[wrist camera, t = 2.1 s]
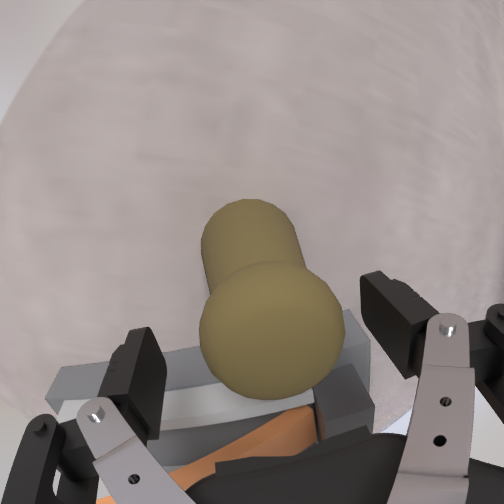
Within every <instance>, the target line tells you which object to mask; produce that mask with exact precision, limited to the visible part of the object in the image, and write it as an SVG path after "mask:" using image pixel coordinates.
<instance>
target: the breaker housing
mask: <svg viewBox="0 0 504 504" xmlns="http://www.w3.org/2000/svg"><path fill="white" fill-rule="evenodd" d="M342 313H343V319H344V325H345V332H346V334H345V339H344V343H343V348H342V351H341V354H340V357H339V359H338V361H337V363H336V364H335V366H334V367H333V369H332V371H331V372H330V373H329V374H328V375H327V376H326V377H325V378H324V379H323V380H322V381H321V382H320V383H319V384H317V385H316V386H314V387H312V388H311V389H309V390H307V391H305V392H303V393H302V394H299V395H296V396H292V397H289V398H285V399H279V400H265V401H264V400H258V399H251V398H246V397H244V396H242V395H239V394H237V393H235V392H233V391H231V390H230V389H228V388H227V387H226V386H225V385H224V384H223V383H222V382H220V381H219V380H218V379H217V378H216V377H215V376H214V375H213V374H212V373H211V371H210V369H209V367H208V366H207V364H206V362H205V360H204V358H203V355H202V352H201V349H200V346H198V347H193V348H188V349H183V350H177V351H172V352H166V353H162V354H163V356H164V358H165V361H166V365H167V379H166V386H165V394H164V401H163V409H162V417H161V426H160V434H159V440H147V447H146V448H147V449H148V450H149V451H150V453H151V454H152V455H153V456H154V457H155V459H156V460H157V461H158V462H159V463H160V465H161V466H162V467H163V468H164V469H165V470H166V471H167V473H171V472H173V471H175V470H177V469H180V468H182V467H184V466H186V465H188V464H190V463H193V462H195V461H197V460H199V459H201V458H203V457H205V456H207V455H209V454H211V453H213V452H215V451H217V450H219V449H221V448H223V447H225V446H227V445H228V444H230V443H232V442H234V441H236V440H238V439H240V438H241V437H243V436H245V435H247V434H249V433H250V432H252V431H254V430H256V429H257V428H259V427H261V426H262V425H264V424H266V423H267V422H269V421H271V420H272V419H274V418H276V417H277V416H279V415H280V414H282V413H284V412H285V411H287V410H288V409H291V408H295V407H299V406H303V405H308V406H309V407H310V408H311V409H313V413H314V420H315V426H316V434H317V441H316V442H314V443H313V444H311V445H310V446H309V447H307V448H306V449H304V450H303V451H305V450H307V449H309V448H311V447H313V446H314V445H316V444H318V443H320V442H322V441H324V440H326V439H328V438H329V437H332V436H335V435H338V434H341V433H344V432H347V431H350V430H353V429H356V428H359V427H362V426H364V425H367V427H368V429H369V431H370V433H371V434H372V432H373V423H374V412H375V405H374V403H373V401H372V399H371V397H370V395H369V386H370V339H369V338H368V336H367V335H366V333H365V332H364V330H363V329H362V327H361V326H360V325H359V323H358V322H357V320H356V319H355V317H354V316H353V314H352V313H351V312H350V310H349V309H348V310H345V311H342ZM109 362H110V361H109ZM109 362H102V363H94V364H86V365H77V366H68V367H61V369H60V370H59V372H58V374H57V376H56V378H55V380H54V382H53V383H52V385H51V387H50V389H49V391H48V393H47V395H46V397H45V400H46V401H47V402H48V404H49V405H50V406H51V407H52V409H53V410H54V411H55V412H56V414H57V415H58V416H57V418H56V420H57V421H58V423H62V422H66V421H69V420H72V419H75V418H76V416H77V412H78V410H79V409H80V407H81V406H82V405H83V404H84V403H86V402H87V401H89V400H91V399H93V398H97V395H98V392H99V389H100V387H101V384H102V381H103V378H104V375H105V373H107V372H106V370H107V367H108V365H109ZM303 451H301V452H303ZM301 452H300V453H301ZM298 454H299V453H298Z"/></svg>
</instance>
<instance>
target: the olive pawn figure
mask: <svg viewBox="0 0 504 504" xmlns="http://www.w3.org/2000/svg"><path fill="white" fill-rule="evenodd" d="M201 255H202V260H203V264H204V269H205V273H206V278H207V282H208V286H209V291H210V297H209V298H208V300H207V302H206V304H205V307H204V310H203V313H202V316H201V319H200V326H199V336H200V349H201V352H202V355H203V358H204V360H205V362H206V364H207V366H208V367H209V369H210V371H211V373H212V374H213V375H214V376H215V377H216V378H217V379H218V380H219V381H220V382H222V383H223V384H224V385H225V386H226V387H227V388H228V389H230V390H231V391H233V392H235V393H237V394H239V395H242V396H244V397H246V398H251V399H258V400H264V401H265V400H279V399H285V398H289V397H292V396H296V395H299V394H302V393H303V392H305V391H307V390H309V389H311V388H312V387H314V386H316V385H317V384H319V383H320V382H321V381H322V380H323V379H324V378H325V377H326V376H327V375H328V374H329V373H330V372H331V371H332V369H333V367H334V366H335V364H336V363H337V361H338V359H339V357H340V354H341V351H342V348H343V343H344V339H345V334H346V332H345V325H344V319H343V313H342V308H341V305H340V303H339V302H338V300H337V299H336V297H335V295H334V294H333V292H332V291H331V289H330V288H329V286H328V285H327V284H326V282H324V281H323V280H322V279H320V278H319V277H318V276H316V275H315V274H314V273H312V272H311V271H309V270H308V269H307V268H306V265H305V261H304V258H303V255H302V252H301V248H300V245H299V242H298V239H297V236H296V232H295V229H294V226H293V224H292V223H291V221H290V220H289V218H288V217H287V215H286V214H285V213H284V212H283V211H281V210H280V209H279V208H277V207H276V206H275V205H273V204H271V203H268V202H265V201H262V200H259V199H242V200H239V201H236V202H233V203H229V204H227V205H226V206H224V207H223V208H221V209H220V210H218V211H217V212H216V213H214V215H213V216H212V217H211V219H210V220H209V222H208V223H207V224H206V226H205V229H204V232H203V235H202V238H201Z"/></svg>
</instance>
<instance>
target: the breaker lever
mask: <svg viewBox="0 0 504 504" xmlns="http://www.w3.org/2000/svg"><path fill="white" fill-rule="evenodd" d="M316 441H317V434H316V426H315V420H314V413H313V409H311V408H310V407H309V406H308V405H303V406H299V407H295V408H291V409H288V410H287V411H285V412H284V413H282V414H280V415H279V416H277V417H276V418H274V419H272V420H271V421H269V422H267V423H266V424H264V425H262V426H261V427H259V428H257V429H256V430H254V431H252V432H250V433H249V434H247V435H245V436H243V437H241V438H240V439H238V440H236V441H234V442H232V443H230V444H228V445H227V446H225V447H223V448H221V449H219V450H217V451H215V452H213V453H211V454H209V455H207V456H205V457H203V458H201V459H199V460H197V461H195V462H193V463H190V464H188V465H186V466H184V467H182V468H180V469H177V470H175V471H173V472H171V473H168V474H169V475H170V476H171V477H172V478H173V479H174V480H175V482H176V483H177V484H178V485H179V486H180V487H181V488H182V489H183V490H184V491H186V490H187V489H188V488H189V487H190V486H192V485H193V484H194V483H196V482H197V481H199V480H201V479H202V478H204V477H206V476H209V475H211V474H213V473H215V462H221V461H228V460H234V459H240V458H246V457H251V456H293V455H296V454H298V453H300V452H301V451H303V450H304V449H306V448H307V447H309V446H310V445H311V444H313V443H314V442H316ZM96 504H116V503H115V501H114V500H113V498H112V496H111V495H110V496H107V497H104V498H101V499H98V500H96Z"/></svg>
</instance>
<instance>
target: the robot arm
mask: <svg viewBox="0 0 504 504" xmlns="http://www.w3.org/2000/svg"><path fill="white" fill-rule="evenodd" d="M360 296H361V314H362V318H363V321H364V323H365V325H366V327H367V328H368V329H369V331H370V332H371V333H372V335H373V336H374V337H375V339H376V340H377V341H378V343H379V344H380V345H381V347H382V348H383V350H384V351H385V352H386V354H387V355H388V356H389V358H390V359H391V361H392V362H393V363H394V365H395V366H396V367H397V369H398V370H399V372H400V373H401V374H402V376H403V377H404V379H408V378H410V377H412V376H415V375H416V376H417V377H418V378H419V380H418V385H417V390H416V395H415V400H414V405H413V410H412V414H411V418H410V423H409V427H408V430H407V434H406V436H405V435H401V434H394V433H375V434H371V433H370V431H369V429H368V427H367V425H364V426H362V427H359V428H356V429H353V430H350V431H347V432H344V433H341V434H338V435H335V436H332V437H329V438H328V439H326V440H324V441H322V442H320V443H318V444H316V445H314V446H313V447H311V448H309V449H307V450H305V451H303V452H301V453H299V454H296V455H293V456H251V457H246V458H240V459H234V460H228V461H221V462H215V473H213V474H211V475H209V476H206V477H204V478H202V479H201V480H199V481H197V482H196V483H194V484H193V485H192V486H190V487H189V488H188V489H187V490H186V491H184V490H183V489H182V488H181V487H180V486H179V485H178V484H177V483H176V482H175V480H174V479H173V478H172V477H171V476H170V475H169V474H168V473H167V471H166V470H165V469H164V468H163V467H162V466H161V465H160V463H159V462H158V461H157V460H156V459H155V457H154V456H153V455H152V454H151V453H150V451H149V450H148V449H147V448H146V447H147V440H159V434H160V426H161V417H162V409H163V401H164V394H165V386H166V379H167V365H166V361H165V358H164V356H163V354H162V352H161V350H160V347H159V345H158V343H157V341H156V339H155V336H154V334H153V332H152V330H151V329H150V328H149V327H144V328H138V329H133V330H130V331H129V333H128V335H127V338H126V341H125V344H123V345H120V346H119V347H118V348H117V349H116V351H115V352H114V353H113V354H112V357H111V359H110V362H109V365H108V367H107V370H106V372H107V373H105V375H104V378H103V381H102V384H101V387H100V389H99V392H98V395H97V398H93V399H91V400H89V401H87V402H86V403H84V404H83V405H82V406H81V407H80V409H79V410H78V412H77V416H76V418H75V419H72V420H69V421H66V422H62V423H58V421H57V420H56V419H55V418H54V417H53V416H52V415H50V414H42V415H39V416H37V417H35V418H34V419H32V420H31V421H30V423H29V424H28V426H27V427H26V430H25V432H24V435H23V438H22V440H21V443H20V445H19V448H18V451H17V454H16V456H15V459H14V462H13V466H12V468H11V471H10V474H9V478H8V481H7V484H6V487H5V491H4V494H3V498H2V502H1V504H96V497H97V490H98V482H99V476H100V478H101V480H102V481H103V483H104V485H105V487H106V488H107V490H108V492H109V493H110V495H111V496H112V498H113V500H114V501H115V503H116V504H504V468H503V467H500V466H496V465H492V464H489V463H485V462H482V461H479V460H475V459H472V458H469V457H470V450H471V440H472V431H473V430H472V429H473V418H474V397H475V386H476V387H477V388H478V390H479V391H480V392H481V394H482V395H483V396H484V398H485V399H486V400H487V402H488V403H489V404H490V406H491V407H492V409H493V410H494V411H495V413H496V414H497V415H498V417H499V418H500V419H501V421H502V422H503V424H504V304H495V305H493V306H491V307H490V308H489V309H488V310H487V314H486V318H485V320H481V321H475V322H470V323H467V322H466V320H465V319H464V318H462V317H461V316H459V315H456V314H452V313H441V314H440V313H439V312H438V311H437V310H436V309H434V308H433V307H432V306H431V305H430V304H429V303H428V302H427V301H425V300H424V299H423V298H422V297H420V295H419V294H417V293H416V292H415V291H413V289H412V288H411V287H409V286H408V285H407V284H406V283H404V282H401V281H398V280H396V279H393V280H390V279H389V278H388V277H387V276H386V275H385V274H383V273H382V272H381V271H375V272H372V273H368V274H365V275H362V276H361V277H360ZM56 469H57V470H58V471H59V472H60V473H61V477H60V481H59V485H58V490H57V495H56V496H55V494H54V492H53V480H54V476H55V472H56Z"/></svg>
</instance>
